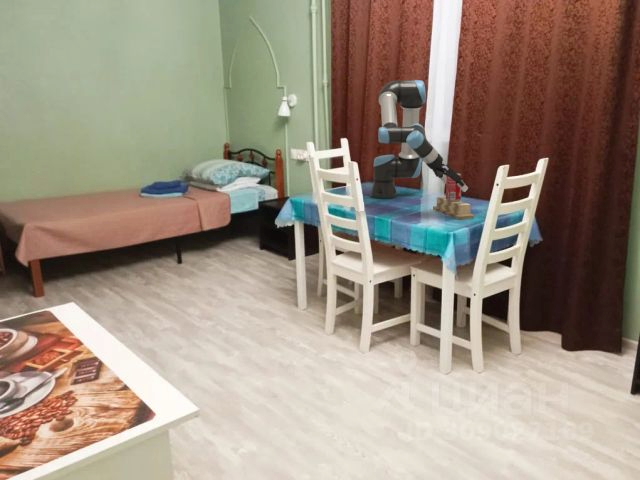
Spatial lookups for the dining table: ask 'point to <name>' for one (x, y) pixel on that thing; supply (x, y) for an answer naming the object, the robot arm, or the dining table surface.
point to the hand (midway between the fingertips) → (458, 187)
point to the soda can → (452, 190)
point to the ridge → (453, 208)
